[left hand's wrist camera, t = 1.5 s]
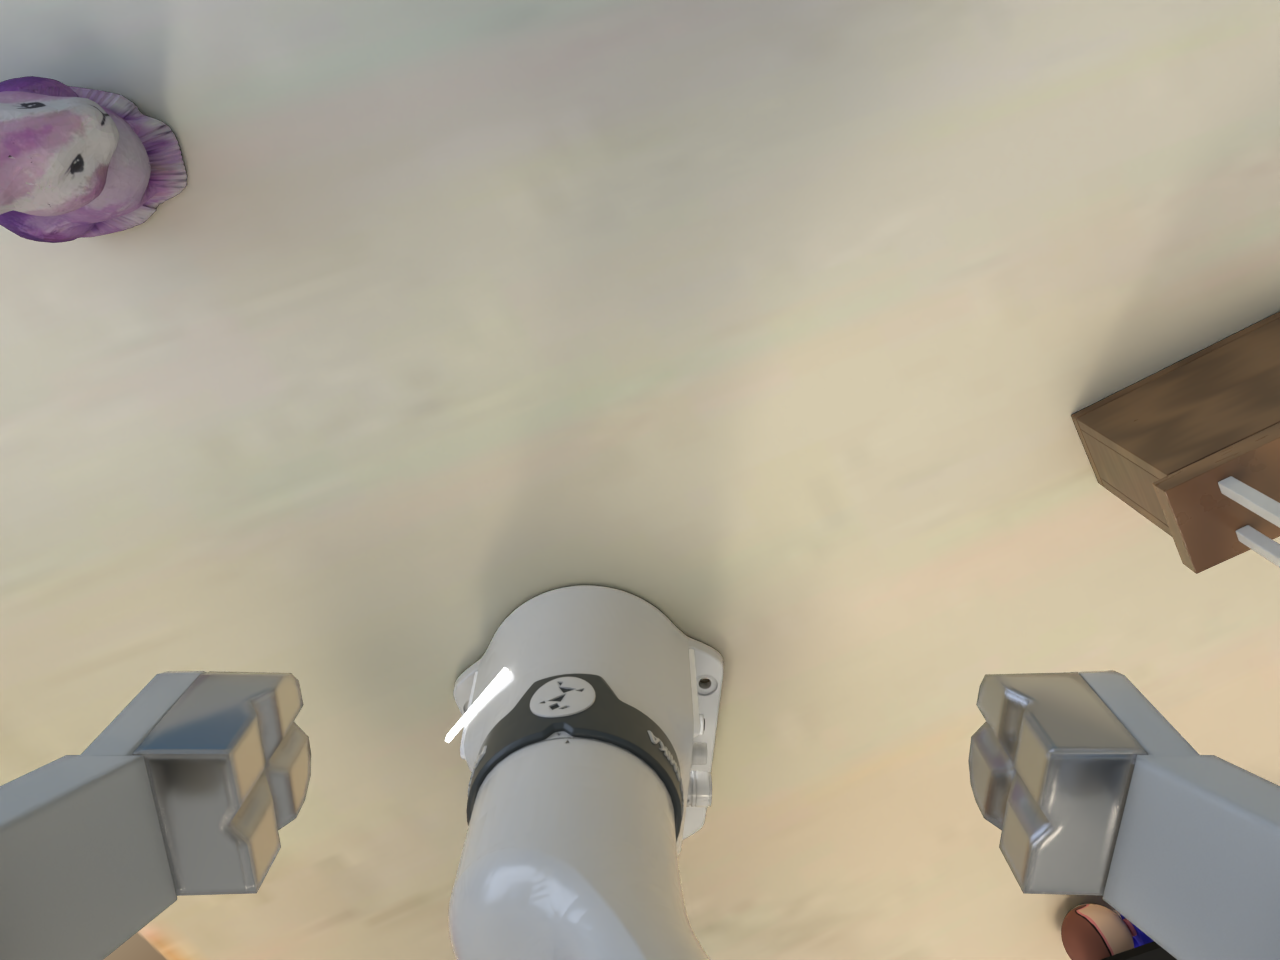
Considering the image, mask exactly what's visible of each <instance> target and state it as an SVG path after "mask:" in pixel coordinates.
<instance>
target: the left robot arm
mask: <svg viewBox="0 0 1280 960" xmlns="http://www.w3.org/2000/svg"><path fill="white" fill-rule="evenodd" d="M723 671H724V661H723V658H722V656H721V654H720V653H719V652H718V651H716V650H715V649H713V648H712V647H710V646H708V645H706V644H704V643H702V642H699V641H697V640H695V639H692V638H690V637H687V636H686V635H685V634H683V633H682V632H681V631H680V630H679V629H678V628H677V627H676V626H675V625H674V624H673V623H672V622H671V621H670V620H669V619H668V618H667V617H666V616H665V615H664V614H663V613H662V612H661V611H660V610H658V609H657V608H656V607H654V606H653V605H651V604H650V603H648V602H647V601H645V600H643V599H641V598H639V597H637V596H635V595H633V594H630V593H628V592H625V591H622V590H618V589H614V588H609V587H604V586H593V585H579V586H569V587H563V588H558V589H555V590H551V591H548V592H545V593H543V594H540V595H538V596H536V597H534V598H532V599H530V600H528V601H527V602H525V603H523V604H522V605H521V606H519V607H518V608H517V609H515V610H514V611H513V612H512V613H511V614H510V615H509V616H508V617H507V618H506V619H505V620H504V621H503V623H502V624H501V625H500V626H499V628H498V629H497V631H496V633H495V634H494V636H493V638H492V640H491V642H490V644H489V646H488V648H487V650H486V652H485V653H484V655H483V656H482V657H481V659H479V660H478V661H477V662H475V663H474V664H473V665H471V666H470V667H469V668H468V669H466V670H465V671H464V672H463V673H462V674H461V675H460V676H459V677H458V678H457V680H456V682H455V686H454V693H453V695H454V699H455V702H456V704H457V706H458V708H459V710H460V712H461V714H462V717H461V719H460V720H459V721H458V722H457V723H456V725H455V726H454V727H453V728H452V729H451V730H450V732H449V733H448V734H447V736H446V739H445V741H446V742H448V743H449V742H450V741H451V740H452V739H453V738H454V736H455V735H456V734H457V733H458V732H459V731H460V729H461V728H462V727H463V726H464V729H463V734H462V740H461V745H460V754H461V758H462V759H464V760H466V761H467V764H468V767H469V769H470V771H471V773H472V774H471V778H470V782H469V789H468V802H467V822H468V830H467V834H466V838H465V842H464V846H463V850H462V854H461V858H460V862H459V866H458V870H457V874H456V878H455V882H454V886H453V890H452V894H451V898H450V903H449V934H450V939H451V944H452V948H453V951H454V954H455V956H456V959H457V960H710V959H709V957H708V956H707V954H706V953H705V951H704V950H703V948H702V947H701V945H700V943H699V941H698V939H697V938H696V936H695V934H694V932H693V930H692V928H691V925H690V923H689V919H688V916H687V913H686V908H685V903H684V898H683V892H682V887H681V880H680V873H679V866H678V855H679V854H680V852H681V846H682V840H683V839H685V838H687V837H689V836H691V835H692V834H694V833H695V832H697V831H698V830H700V829H701V828H702V827H703V825H704V822H705V816H706V809H707V807H708V806H711V801H712V778H711V769H712V761H713V753H714V745H715V737H716V728H717V720H718V712H719V704H720V696H721V688H722V680H723ZM703 678H707V679H709V681H708V682H707V683H701V682H700V680H701V679H703ZM302 706H303V700H302V695H301V690H300V685H299V681H298V680H297V679H296V678H295V677H294V675H293V674H292V673H259V672H205V671H168V672H164V673H160V674H157V675H156V676H155V677H154V678H153V679H152V680H151V681H150V682H149V683H148V684H147V685H146V686H145V687H144V688H143V689H142V690H141V691H140V693H139V694H138V695H137V696H136V697H135V698H134V699H133V700H132V701H131V702H130V703H129V704H128V705H127V706H126V707H125V708H124V709H123V710H122V712H121V713H120V714H119V715H118V716H117V717H116V718H115V719H114V720H113V721H112V722H111V723H110V724H109V725H108V726H107V727H106V728H105V730H104V731H103V732H102V733H101V734H100V735H99V736H98V737H97V738H96V739H95V740H94V741H93V742H92V743H91V744H90V745H89V746H88V748H87V749H86V750H85V751H84V752H83V753H82V754H81V755H66V756H64V757H61V758H59V759H57V760H55V761H53V762H51V763H49V764H47V765H44V766H42V767H40V768H38V769H36V770H34V771H32V772H30V773H27V774H25V775H23V776H21V777H19V778H17V779H15V780H13V781H10V782H8V783H6V784H4V785H2V786H0V960H103V959H105V958H106V957H107V956H108V955H110V954H111V953H112V952H113V951H115V950H116V949H117V948H118V947H119V946H121V945H122V944H123V943H124V942H126V941H127V940H128V939H129V938H131V937H132V936H133V935H134V934H136V933H137V932H138V931H139V930H140V929H142V928H143V927H144V926H145V925H147V924H148V923H149V922H150V921H152V920H153V919H154V918H155V917H156V916H158V915H159V914H160V913H161V912H163V911H164V910H165V909H166V908H168V907H169V906H170V905H171V904H173V903H174V902H175V901H176V900H177V896H178V895H212V894H247V893H257V891H258V890H259V888H260V886H261V884H262V882H263V880H264V878H265V876H266V874H267V873H268V871H269V869H270V867H271V865H272V863H273V861H274V859H275V857H276V855H277V854H278V852H279V850H280V848H281V845H280V839H279V833H278V830H279V829H281V828H282V827H284V826H285V825H287V824H288V823H290V822H291V821H293V820H294V819H295V818H296V817H297V815H298V813H299V811H300V809H301V807H302V805H303V803H304V801H305V798H306V793H307V789H308V785H309V780H310V776H311V751H310V744H309V737H308V736H307V735H306V734H305V733H304V732H303V731H302V729H301V728H300V727H299V726H298V725H297V724H296V723H295V722H294V720H295V718H296V716H297V715H298V713H299V711H300V710H301V708H302ZM977 706H978V708H979V710H980V711H981V713H982V715H983V716H984V718H985V720H986V722H985V723H984V724H983V725H982V726H981V727H980V728H979V729H978V731H977V732H976V733H975V734H974V735H973V736H972V737H971V745H970V753H969V771H970V782H971V787H972V790H973V794H974V797H975V800H976V803H977V805H978V807H979V809H980V811H981V813H982V815H983V817H984V818H985V819H986V820H988V821H989V822H990V823H992V824H993V825H995V826H996V827H998V828H999V829H1001V830H1002V833H1001V839H1000V845H999V848H1000V850H1001V852H1002V854H1003V855H1004V857H1005V859H1006V861H1007V863H1008V865H1009V867H1010V869H1011V871H1012V872H1013V874H1014V876H1015V878H1016V880H1017V882H1018V884H1019V886H1020V887H1021V889H1022V891H1023V893H1031V894H1066V895H1102V896H1103V900H1104V901H1105V902H1107V903H1108V904H1109V905H1110V906H1112V907H1113V908H1114V909H1115V910H1117V911H1118V912H1119V913H1120V914H1121V915H1123V916H1124V917H1125V918H1126V919H1128V920H1129V921H1130V922H1131V923H1133V924H1134V925H1135V926H1136V927H1137V928H1139V929H1140V930H1141V931H1142V932H1144V933H1145V934H1146V935H1147V936H1149V937H1150V938H1151V939H1152V940H1153V941H1155V942H1156V943H1157V944H1158V945H1160V946H1161V947H1162V948H1163V949H1165V950H1166V951H1167V952H1168V953H1169V954H1171V955H1172V956H1173V957H1174V958H1176V959H1177V960H1280V786H1278V785H1276V784H1274V783H1272V782H1269V781H1267V780H1265V779H1263V778H1261V777H1259V776H1257V775H1255V774H1252V773H1250V772H1248V771H1246V770H1244V769H1242V768H1240V767H1238V766H1236V765H1233V764H1231V763H1229V762H1227V761H1225V760H1223V759H1221V758H1219V757H1216V756H1214V755H1199V754H1198V753H1197V752H1196V751H1195V750H1194V749H1193V747H1192V746H1191V745H1190V744H1189V743H1188V742H1187V741H1186V740H1185V739H1184V738H1183V737H1182V736H1181V735H1180V734H1179V733H1178V732H1177V731H1176V729H1175V728H1174V727H1173V726H1172V725H1171V724H1170V723H1169V722H1168V721H1167V720H1166V719H1165V718H1164V717H1163V716H1162V715H1161V714H1160V712H1159V711H1158V710H1157V709H1156V708H1155V707H1154V706H1153V705H1152V704H1151V703H1150V702H1149V701H1148V700H1147V699H1146V698H1145V697H1144V696H1143V694H1142V693H1141V692H1140V691H1139V690H1138V689H1137V688H1136V687H1135V686H1134V685H1133V684H1132V683H1131V682H1130V681H1129V680H1128V679H1127V678H1126V676H1125V675H1122V674H1120V673H1118V672H1115V671H1089V672H1071V673H1031V674H989V675H985V676H984V678H983V681H982V683H981V685H980V688H979V694H978V699H977Z"/></svg>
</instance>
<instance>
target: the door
mask: <svg viewBox="0 0 1280 960" xmlns="http://www.w3.org/2000/svg"><path fill="white" fill-rule="evenodd" d="M1152 485H1153V487H1154V490H1155V493H1156V495H1157V498H1158V500H1159V503H1160V505H1161V508H1162V511H1163V513H1164V516H1165V518H1166V521H1167V524H1168V526H1169V529H1170V531H1171V534H1172V536H1173V539H1174V542H1175V544H1176V547H1177V549H1178V552H1179V555H1180V557H1181V560H1182V562H1183V564H1184V565H1186V566H1187V567H1188V568H1190V569H1191V570H1192V571H1193V572H1195V573H1196V574H1197V573H1199V572H1201V571H1204V570H1206V569H1208V568H1210V567H1213V566H1215V565H1217V564H1219V563H1221V562H1224V561H1226V560H1228V559H1230V558H1233V557H1235V556H1237V555H1239V554H1241V553H1244V552H1246V551H1248V550H1250V549H1252V550H1254V551H1255V552H1257V553H1258V554H1260V555H1261V556H1263V557H1264V558H1266V559H1267V560H1269V561H1270V562H1272V563H1273V564H1275V565H1276V566H1278V567H1280V544H1278V543H1277V542H1275V541H1273V540H1272V539H1275V538H1277V537H1279V536H1280V423H1277V424H1275V425H1273V426H1271V427H1269V428H1267V429H1265V430H1263V431H1261V432H1258V433H1256V434H1254V435H1252V436H1250V437H1248V438H1246V439H1244V440H1242V441H1239V442H1237V443H1235V444H1233V445H1231V446H1229V447H1227V448H1225V449H1223V450H1221V451H1218V452H1216V453H1214V454H1212V455H1210V456H1208V457H1206V458H1204V459H1202V460H1199V461H1197V462H1195V463H1193V464H1191V465H1189V466H1187V467H1185V468H1183V469H1181V470H1178V471H1176V472H1174V473H1172V474H1170V475H1168V476H1166V477H1164V478H1162V479H1159V480H1157V481H1155V482H1153V483H1152Z"/></svg>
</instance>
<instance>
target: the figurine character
mask: <svg viewBox="0 0 1280 960" xmlns="http://www.w3.org/2000/svg"><path fill="white" fill-rule="evenodd" d="M1120 915H1121V914H1120ZM1121 918H1122V919H1121ZM1121 918H1120V917H1119V916H1118V915H1117V914H1116V913H1115V912H1113V911H1112V910H1110V909H1108V908H1106V907H1104V906H1101V905H1098V904H1082V905H1079V906H1077V907H1075V908H1073V909H1072V910H1071V911H1069V913H1068V914H1067V915H1066V917H1065V918H1064V921H1063V924H1062V930H1061V935H1062V941H1063V945H1064V947H1065V950H1066V952H1067V954H1068V955H1069V957H1070V958H1071V959H1072V960H1177V959H1176V958H1174V957H1173V956H1172V955H1171V954H1169V953H1168V952H1167V951H1166V950H1165V949H1163V948H1162V947H1161V946H1160V945H1158V944H1157V943H1156V942H1155V941H1153V940H1152V939H1151V938H1150V937H1149V936H1147V935H1146V934H1145V933H1144V932H1142V931H1141V930H1140V929H1139V928H1137V927H1136V926H1135V925H1134V924H1133V923H1131V922H1130V921H1129V920H1128V919H1126V918H1125V917H1124V916H1123V915H1121Z"/></svg>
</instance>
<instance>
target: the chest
mask: <svg viewBox="0 0 1280 960" xmlns="http://www.w3.org/2000/svg"><path fill="white" fill-rule="evenodd" d="M1071 417H1072V419H1073V422H1074V424H1075V427H1076V429H1077V432H1078V434H1079V436H1080V439H1081V441H1082V444H1083V446H1084V449H1085V451H1086V454H1087V456H1088V458H1089V461H1090V463H1091V466H1092V468H1093V471H1094V473H1095V475H1096V478H1097V480H1098V483H1099V484H1101V485H1102V486H1103V487H1105V488H1106V489H1107V490H1109V491H1110V492H1111V493H1113V494H1114V495H1116V496H1117V497H1118V498H1120V499H1121V500H1122V501H1124V502H1125V503H1126V504H1128V505H1129V506H1131V507H1132V508H1133V509H1135V510H1136V511H1137V512H1139V513H1140V514H1142V515H1143V516H1144V517H1146V518H1147V519H1148V520H1150V521H1151V522H1153V523H1154V524H1155V525H1157V526H1158V527H1159V528H1161V529H1162V530H1163V531H1165V532H1166V533H1168V534H1169V535H1170V536H1172V534H1171V531H1170V529H1169V526H1168V524H1167V521H1166V518H1165V516H1164V513H1163V511H1162V508H1161V505H1160V503H1159V500H1158V498H1157V495H1156V493H1155V490H1154V487H1153V485H1152V483H1153V482H1155V481H1157V480H1159V479H1162V478H1164V477H1166V476H1168V475H1170V474H1172V473H1174V472H1176V471H1178V470H1181V469H1183V468H1185V467H1187V466H1189V465H1191V464H1193V463H1195V462H1197V461H1199V460H1202V459H1204V458H1206V457H1208V456H1210V455H1212V454H1214V453H1216V452H1218V451H1221V450H1223V449H1225V448H1227V447H1229V446H1231V445H1233V444H1235V443H1237V442H1239V441H1242V440H1244V439H1246V438H1248V437H1250V436H1252V435H1254V434H1256V433H1258V432H1261V431H1263V430H1265V429H1267V428H1269V427H1271V426H1273V425H1275V424H1277V423H1280V312H1278V313H1276V314H1274V315H1272V316H1270V317H1268V318H1266V319H1264V320H1262V321H1260V322H1258V323H1256V324H1254V325H1251V326H1249V327H1247V328H1245V329H1243V330H1241V331H1239V332H1237V333H1235V334H1233V335H1231V336H1229V337H1227V338H1225V339H1223V340H1221V341H1219V342H1217V343H1215V344H1213V345H1211V346H1209V347H1207V348H1205V349H1203V350H1201V351H1199V352H1197V353H1195V354H1193V355H1191V356H1189V357H1187V358H1185V359H1183V360H1181V361H1179V362H1177V363H1175V364H1173V365H1171V366H1169V367H1167V368H1165V369H1163V370H1161V371H1159V372H1157V373H1155V374H1153V375H1151V376H1149V377H1147V378H1145V379H1143V380H1141V381H1139V382H1137V383H1135V384H1133V385H1131V386H1129V387H1127V388H1125V389H1123V390H1121V391H1119V392H1117V393H1115V394H1113V395H1111V396H1109V397H1107V398H1105V399H1103V400H1101V401H1099V402H1097V403H1095V404H1093V405H1091V406H1089V407H1087V408H1085V409H1083V410H1081V411H1079V412H1077V413H1075V414H1073V415H1071ZM1172 537H1173V536H1172Z"/></svg>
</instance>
